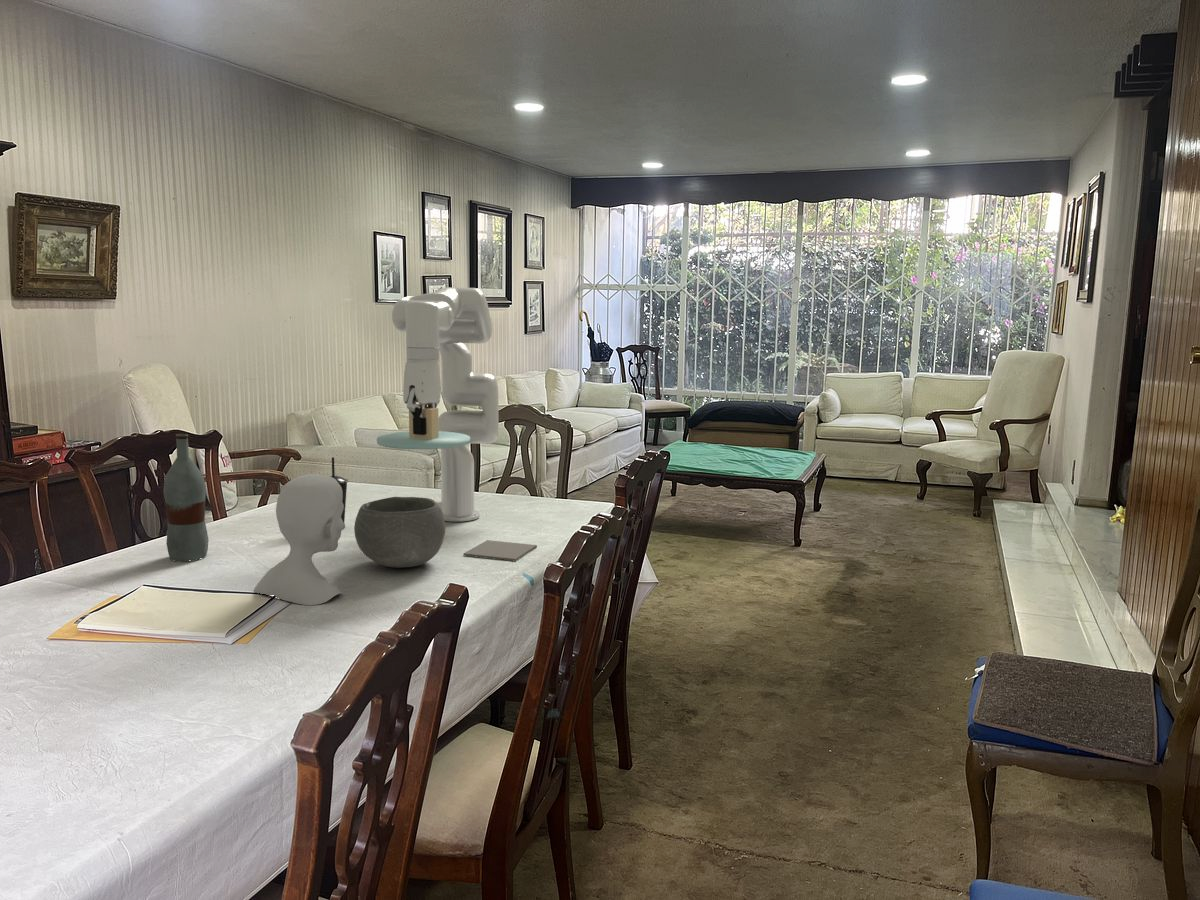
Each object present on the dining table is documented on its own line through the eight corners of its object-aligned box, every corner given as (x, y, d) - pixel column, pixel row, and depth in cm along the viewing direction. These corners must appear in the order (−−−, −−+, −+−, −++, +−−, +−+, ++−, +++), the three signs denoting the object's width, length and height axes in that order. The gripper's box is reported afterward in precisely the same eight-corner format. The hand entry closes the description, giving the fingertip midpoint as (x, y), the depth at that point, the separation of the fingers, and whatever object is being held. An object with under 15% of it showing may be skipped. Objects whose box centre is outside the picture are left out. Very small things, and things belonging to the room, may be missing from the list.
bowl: (425, 581, 198) (424, 516, 196) (339, 574, 202) (337, 510, 200) (458, 556, 219) (458, 497, 217) (379, 551, 223) (378, 492, 221)
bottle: (158, 559, 213) (151, 435, 208) (191, 550, 221) (185, 430, 216) (184, 564, 208) (177, 438, 204) (217, 555, 216) (211, 433, 212)
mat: (463, 555, 220) (463, 553, 220) (487, 542, 233) (487, 540, 233) (515, 561, 216) (515, 558, 216) (536, 547, 229) (536, 545, 229)
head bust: (380, 585, 195) (378, 473, 191) (312, 609, 179) (308, 487, 175) (312, 569, 206) (308, 463, 202) (241, 590, 190) (236, 476, 186)
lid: (358, 445, 203) (357, 410, 202) (408, 432, 223) (407, 401, 222) (442, 452, 196) (442, 416, 195) (485, 438, 216) (485, 405, 215)
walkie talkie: (353, 526, 248) (351, 455, 245) (343, 532, 240) (341, 460, 237) (327, 525, 249) (325, 454, 246) (315, 531, 241) (313, 459, 238)
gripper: (426, 353, 215) (427, 427, 218) (389, 356, 200) (391, 437, 203) (454, 354, 213) (454, 429, 216) (418, 357, 197) (420, 439, 200)
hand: (424, 432), depth 209 cm, fingers closed on lid, 3 cm apart
